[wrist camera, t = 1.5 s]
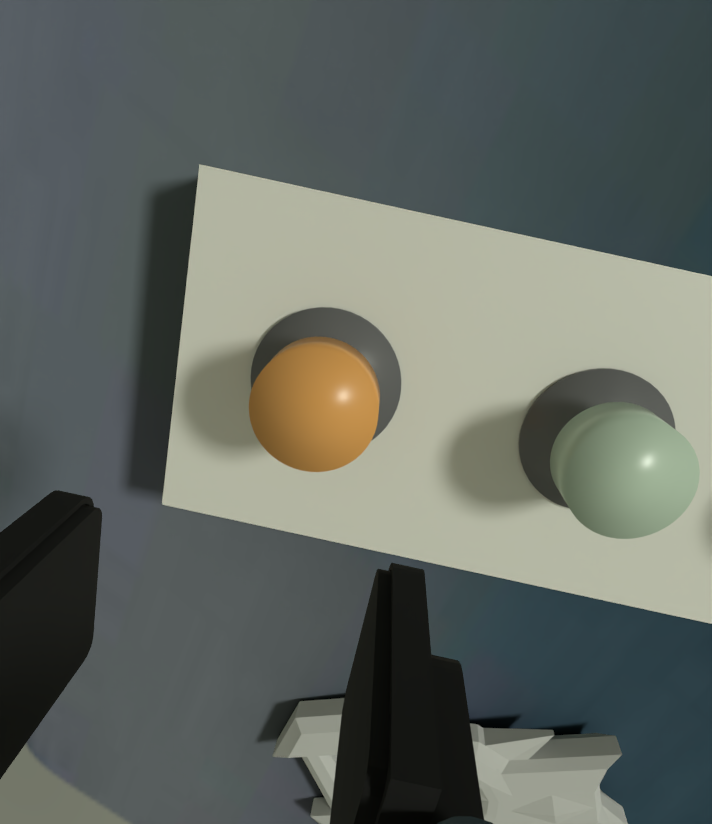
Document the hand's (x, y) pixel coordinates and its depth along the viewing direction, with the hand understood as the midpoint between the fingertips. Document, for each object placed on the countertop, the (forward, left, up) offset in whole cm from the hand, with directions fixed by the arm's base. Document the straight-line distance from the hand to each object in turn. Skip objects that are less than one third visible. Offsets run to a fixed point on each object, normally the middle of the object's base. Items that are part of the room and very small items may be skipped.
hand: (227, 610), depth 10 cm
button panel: (0, +11, -17) cm, 21 cm away
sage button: (0, +11, -13) cm, 17 cm away
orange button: (0, 0, -13) cm, 13 cm away
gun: (+21, +10, -18) cm, 29 cm away
